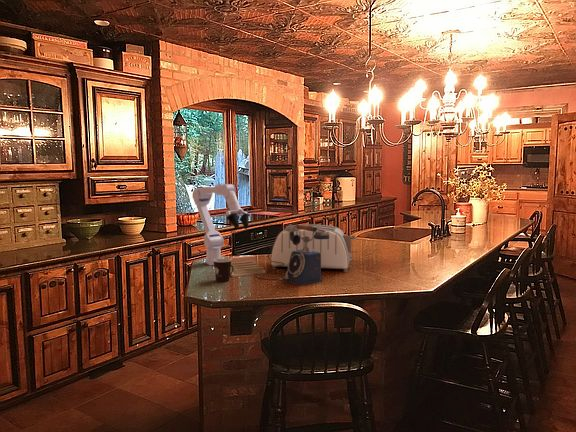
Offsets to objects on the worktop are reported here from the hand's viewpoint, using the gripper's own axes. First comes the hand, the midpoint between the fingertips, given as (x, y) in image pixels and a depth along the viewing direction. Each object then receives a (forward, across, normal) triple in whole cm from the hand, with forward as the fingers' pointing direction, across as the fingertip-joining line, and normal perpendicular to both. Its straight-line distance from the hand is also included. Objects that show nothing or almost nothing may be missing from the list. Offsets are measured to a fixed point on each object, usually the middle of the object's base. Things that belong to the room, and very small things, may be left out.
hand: (242, 227), depth 247 cm
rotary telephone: (+35, +6, -12) cm, 38 cm away
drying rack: (+20, +4, +12) cm, 23 cm away
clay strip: (+13, +14, +20) cm, 28 cm away
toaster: (+29, +35, -10) cm, 46 cm away
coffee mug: (+25, -18, +9) cm, 32 cm away
